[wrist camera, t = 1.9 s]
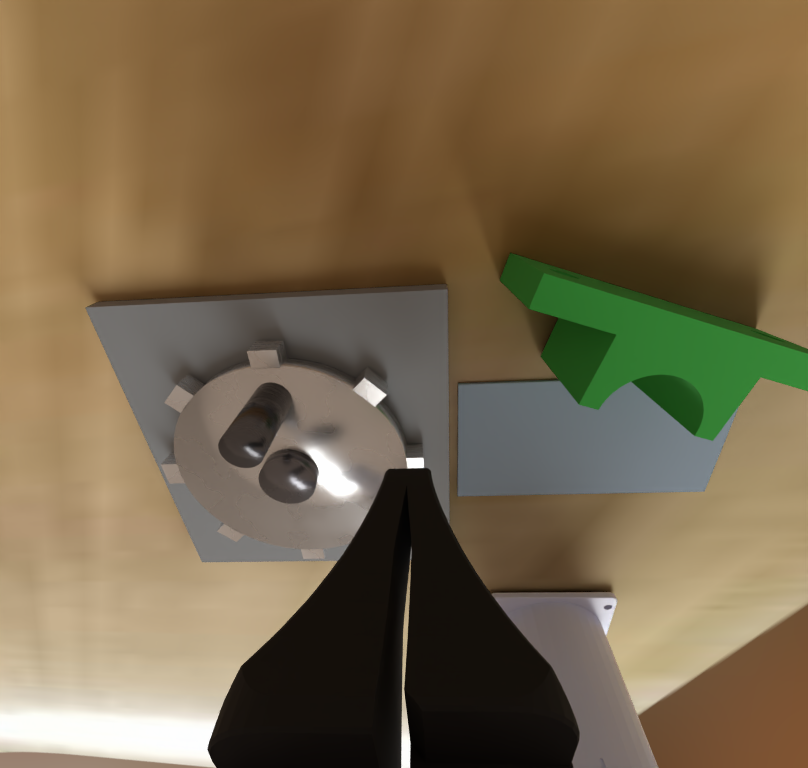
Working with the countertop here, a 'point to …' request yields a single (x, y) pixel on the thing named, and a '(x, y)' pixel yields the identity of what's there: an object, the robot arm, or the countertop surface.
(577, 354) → the pipe clamp
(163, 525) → the countertop surface
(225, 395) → the sprocket
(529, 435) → the mat
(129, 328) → the mount plate
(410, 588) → the robot arm
